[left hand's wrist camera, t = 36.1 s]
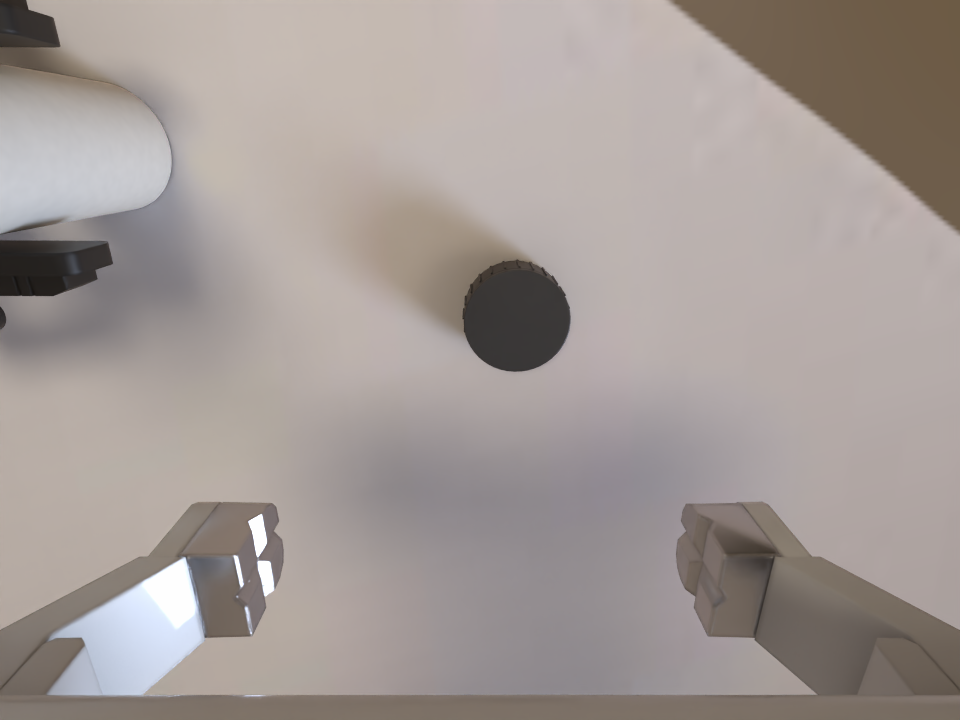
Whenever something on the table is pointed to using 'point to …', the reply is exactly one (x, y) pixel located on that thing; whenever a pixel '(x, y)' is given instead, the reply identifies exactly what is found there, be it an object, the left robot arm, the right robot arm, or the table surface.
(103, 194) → the bottle
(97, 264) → the right robot arm
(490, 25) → the table surface
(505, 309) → the cap
